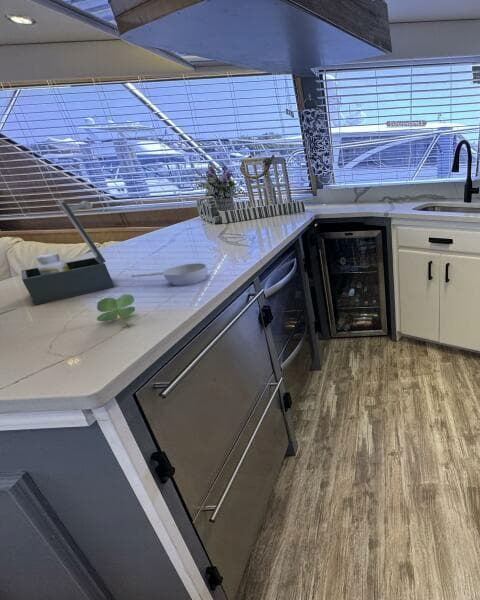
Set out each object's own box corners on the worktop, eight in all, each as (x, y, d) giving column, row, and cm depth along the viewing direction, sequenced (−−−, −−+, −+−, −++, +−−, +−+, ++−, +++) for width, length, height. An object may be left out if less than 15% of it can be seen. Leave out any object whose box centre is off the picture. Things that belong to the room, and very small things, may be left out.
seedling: (130, 343, 70) (117, 323, 72) (157, 318, 70) (144, 298, 72) (94, 339, 63) (81, 317, 65) (125, 311, 63) (111, 289, 65)
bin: (35, 305, 80) (21, 279, 77) (33, 294, 88) (20, 270, 85) (114, 286, 91) (105, 263, 88) (106, 278, 98) (97, 256, 96)
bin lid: (61, 202, 79) (89, 196, 83) (56, 200, 87) (82, 194, 90) (102, 262, 87) (126, 254, 91) (95, 255, 95) (117, 248, 99)
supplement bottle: (70, 285, 91) (54, 251, 87) (82, 287, 89) (66, 253, 85) (45, 292, 86) (27, 257, 82) (57, 294, 84) (39, 258, 80)
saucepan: (207, 282, 91) (203, 269, 89) (130, 294, 84) (125, 280, 83) (211, 272, 100) (207, 260, 98) (142, 282, 93) (137, 269, 92)
